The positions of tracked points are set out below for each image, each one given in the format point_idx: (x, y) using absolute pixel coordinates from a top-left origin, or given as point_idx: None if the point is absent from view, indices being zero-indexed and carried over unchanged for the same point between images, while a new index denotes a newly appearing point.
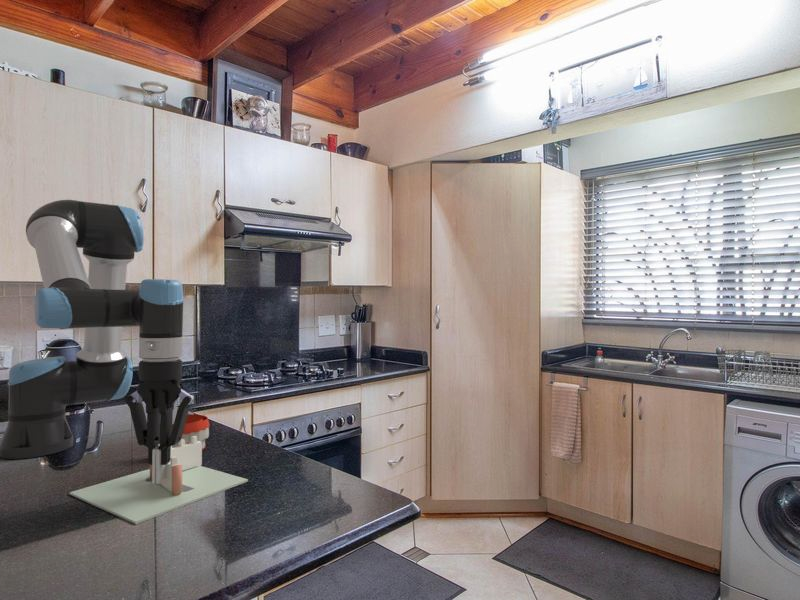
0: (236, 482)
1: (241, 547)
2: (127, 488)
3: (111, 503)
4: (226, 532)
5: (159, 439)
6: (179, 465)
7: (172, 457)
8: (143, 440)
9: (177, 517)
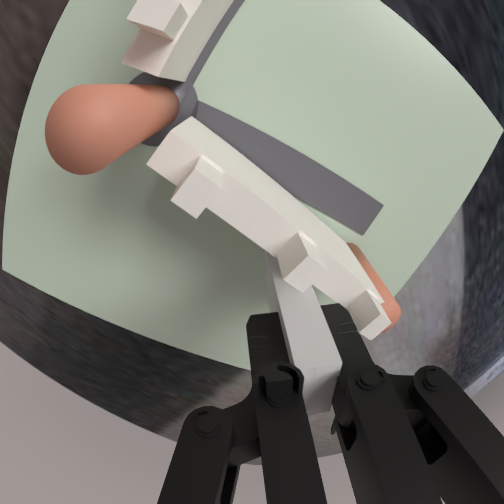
0: (484, 152)
1: (466, 378)
2: (124, 224)
3: (176, 328)
4: (457, 361)
5: (305, 411)
6: (389, 307)
7: (368, 329)
8: (238, 466)
9: (382, 347)
